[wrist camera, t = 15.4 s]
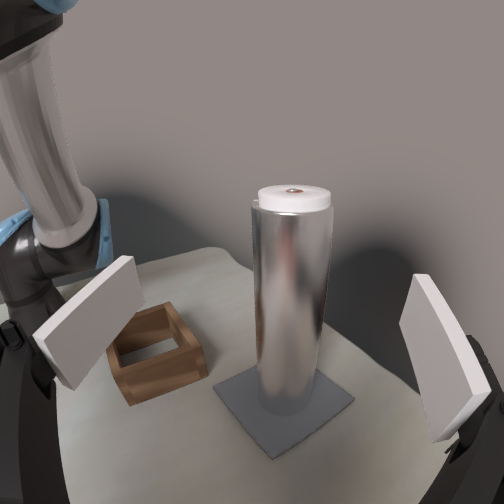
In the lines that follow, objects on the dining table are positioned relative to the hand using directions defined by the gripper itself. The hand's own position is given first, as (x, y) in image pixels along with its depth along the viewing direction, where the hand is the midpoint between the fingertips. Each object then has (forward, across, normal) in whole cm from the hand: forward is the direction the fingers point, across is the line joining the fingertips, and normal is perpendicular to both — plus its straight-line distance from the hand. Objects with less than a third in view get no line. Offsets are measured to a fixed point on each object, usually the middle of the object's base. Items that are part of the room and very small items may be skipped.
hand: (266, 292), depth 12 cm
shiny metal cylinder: (+11, +1, -23) cm, 25 cm away
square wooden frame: (+13, -18, -24) cm, 33 cm away
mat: (+11, +1, -23) cm, 26 cm away
